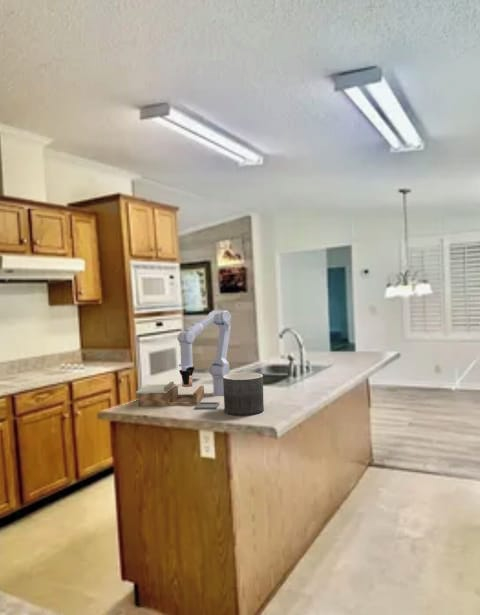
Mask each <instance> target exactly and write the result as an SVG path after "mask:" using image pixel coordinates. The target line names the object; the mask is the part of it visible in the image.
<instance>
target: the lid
mask: <svg viewBox="0 0 480 615" xmlns="http://www.w3.org/2000/svg"><path fill="white" fill-rule="evenodd" d="M176 384H177V383H176ZM176 384H175V381H170V382H169V383H165V384H157V383H156V384H146V385H144V386H143V387H141V388H140V389H138V390H137V391H135V394H139V393H167V392H168V391H170V390H171V389H172V388H173V387H175V386H177V385H176Z"/></svg>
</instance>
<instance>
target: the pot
mask: <svg viewBox="0 0 480 615" xmlns="http://www.w3.org/2000/svg"><path fill="white" fill-rule="evenodd" d="M193 379H194V378H193V374H192V375H190V376H189V384H188V385H184V383H183V379H182V378H181V387H183V388H189V387H193Z"/></svg>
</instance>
